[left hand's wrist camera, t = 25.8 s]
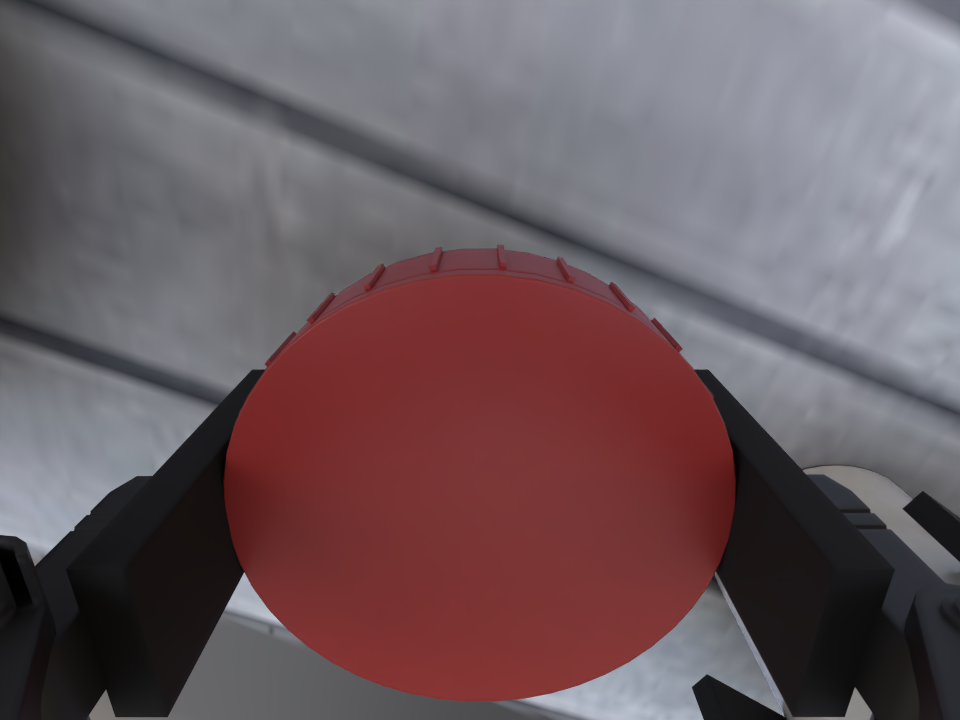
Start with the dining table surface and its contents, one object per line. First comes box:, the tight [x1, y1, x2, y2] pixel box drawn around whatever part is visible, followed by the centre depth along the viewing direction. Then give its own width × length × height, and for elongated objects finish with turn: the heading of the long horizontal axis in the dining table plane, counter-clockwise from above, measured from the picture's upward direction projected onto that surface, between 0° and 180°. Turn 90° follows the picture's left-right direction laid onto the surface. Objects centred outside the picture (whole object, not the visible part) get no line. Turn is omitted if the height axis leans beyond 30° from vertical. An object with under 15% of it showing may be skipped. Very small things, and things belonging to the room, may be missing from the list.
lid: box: [223, 245, 736, 701], centre depth 11 cm, size 9×9×2 cm
